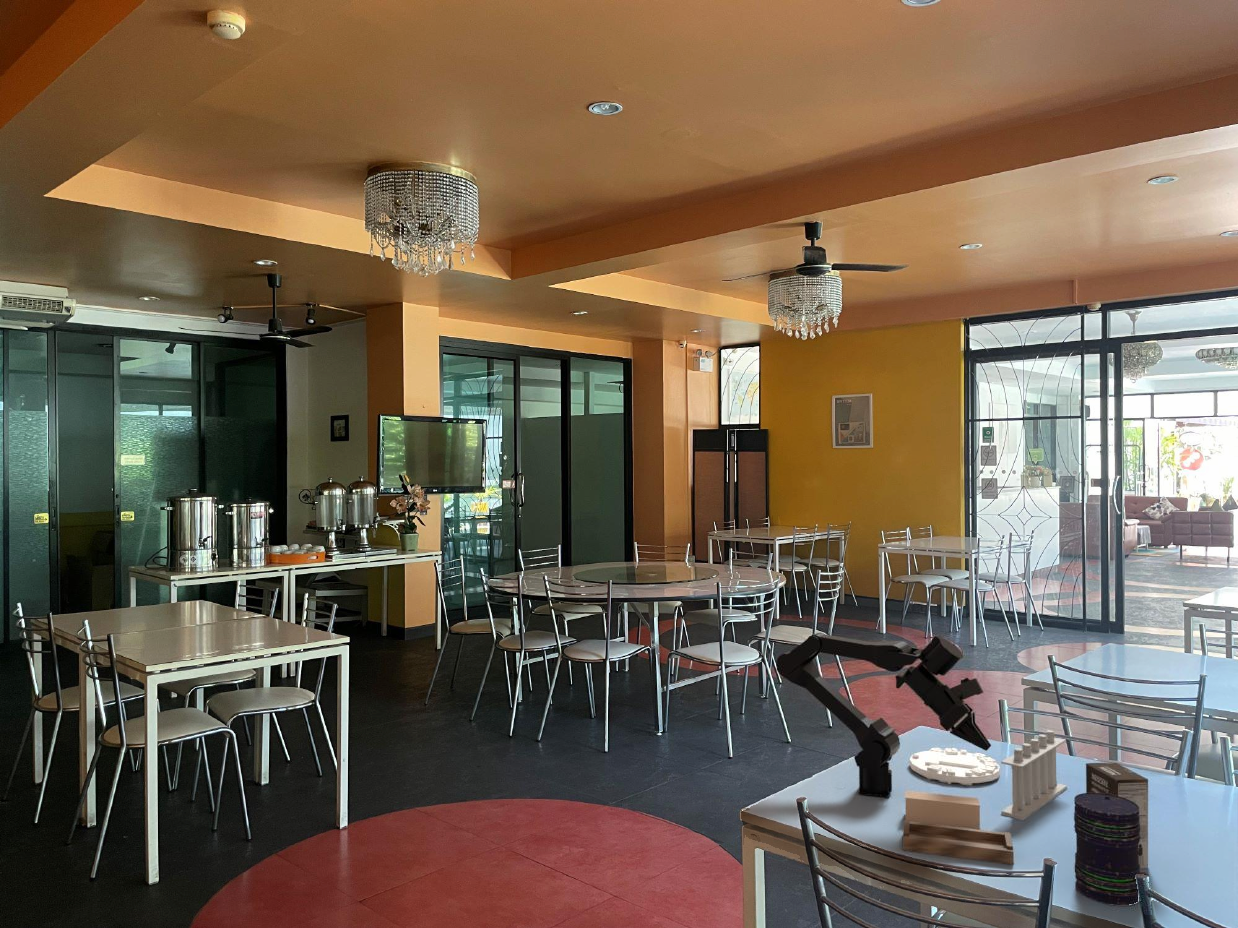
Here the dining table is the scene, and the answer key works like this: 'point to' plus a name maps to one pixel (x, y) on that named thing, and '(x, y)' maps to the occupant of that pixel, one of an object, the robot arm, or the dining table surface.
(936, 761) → the embossed medallion
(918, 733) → the dining table surface
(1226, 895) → the dining table surface
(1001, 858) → the cradle
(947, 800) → the clay bar
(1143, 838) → the coffee box
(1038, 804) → the test tube rack
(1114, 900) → the storage jar
